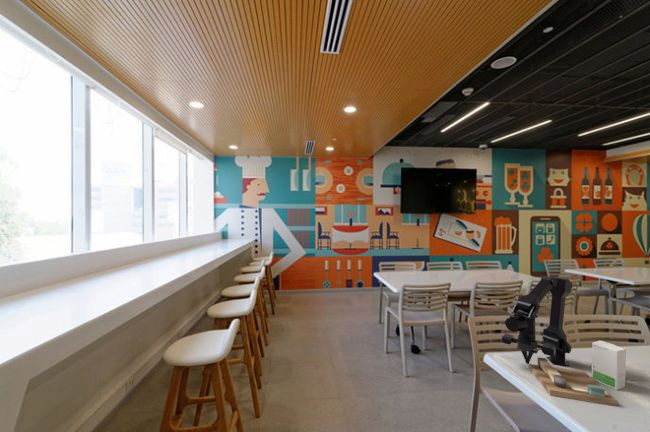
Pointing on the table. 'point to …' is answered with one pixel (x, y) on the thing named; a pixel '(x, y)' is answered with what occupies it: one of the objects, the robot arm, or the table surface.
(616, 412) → the table surface
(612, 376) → the skincare box
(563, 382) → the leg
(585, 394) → the tan wooden flat tray
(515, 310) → the robot arm
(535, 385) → the table surface
